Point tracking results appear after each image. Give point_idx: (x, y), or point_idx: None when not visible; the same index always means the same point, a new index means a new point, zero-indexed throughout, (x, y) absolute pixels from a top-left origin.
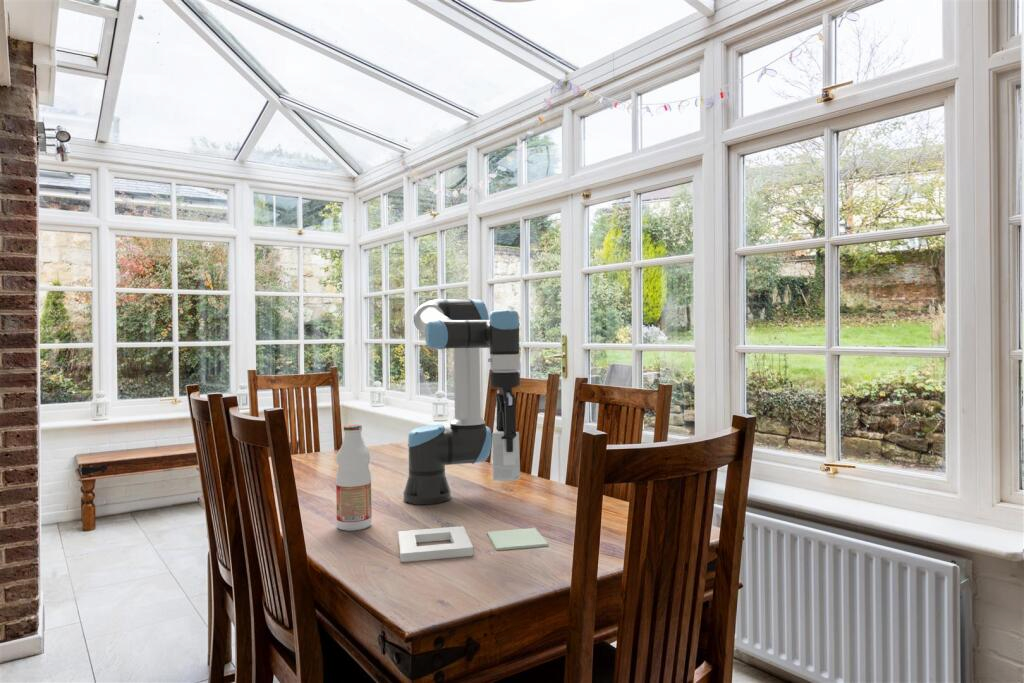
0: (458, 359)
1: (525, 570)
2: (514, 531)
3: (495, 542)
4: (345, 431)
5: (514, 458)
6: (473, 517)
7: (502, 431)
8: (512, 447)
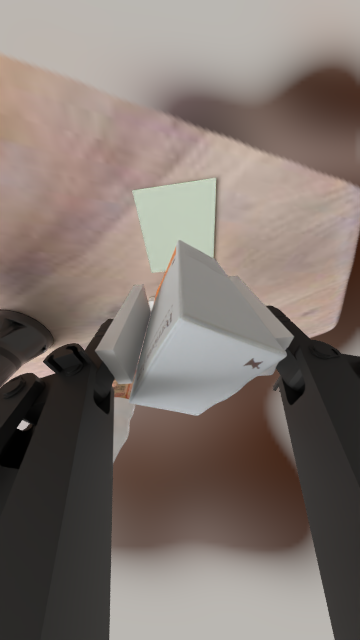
0: None
1: (288, 235)
2: (151, 233)
3: None
4: None
5: (244, 284)
6: (83, 285)
7: (142, 393)
8: (286, 318)
